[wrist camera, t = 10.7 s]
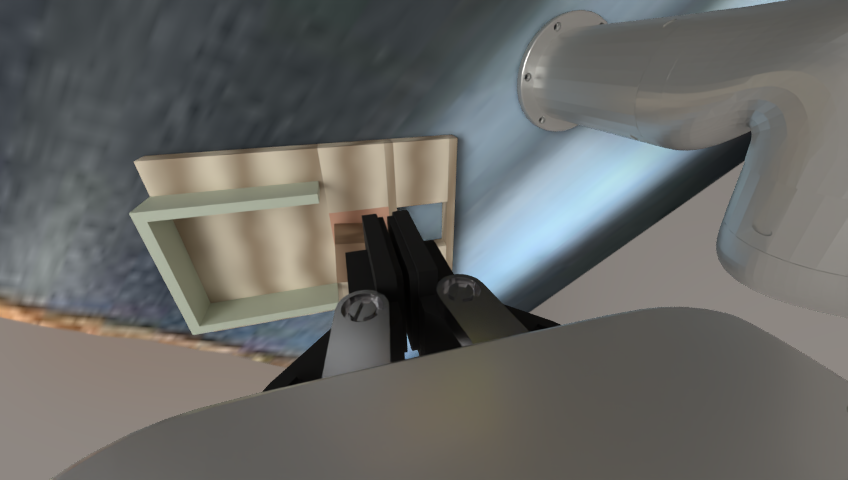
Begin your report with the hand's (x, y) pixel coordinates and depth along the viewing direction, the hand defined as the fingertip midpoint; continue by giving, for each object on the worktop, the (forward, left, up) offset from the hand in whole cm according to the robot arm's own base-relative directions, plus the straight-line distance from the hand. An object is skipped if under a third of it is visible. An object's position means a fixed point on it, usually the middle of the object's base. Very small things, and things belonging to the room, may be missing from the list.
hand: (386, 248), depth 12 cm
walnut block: (+1, +14, -25) cm, 29 cm away
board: (+4, +13, -27) cm, 30 cm away
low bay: (+12, +13, -25) cm, 31 cm away
